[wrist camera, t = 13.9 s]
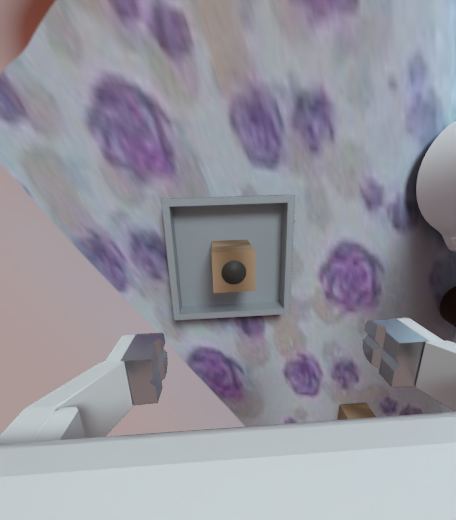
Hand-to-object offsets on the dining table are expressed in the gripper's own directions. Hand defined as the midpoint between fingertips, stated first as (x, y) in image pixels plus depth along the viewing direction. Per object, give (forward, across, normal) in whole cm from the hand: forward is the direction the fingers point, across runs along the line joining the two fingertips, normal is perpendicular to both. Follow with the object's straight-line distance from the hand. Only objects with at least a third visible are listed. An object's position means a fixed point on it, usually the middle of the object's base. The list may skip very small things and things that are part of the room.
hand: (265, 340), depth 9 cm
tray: (+22, +1, +2) cm, 22 cm away
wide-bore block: (+21, 0, +2) cm, 21 cm away
